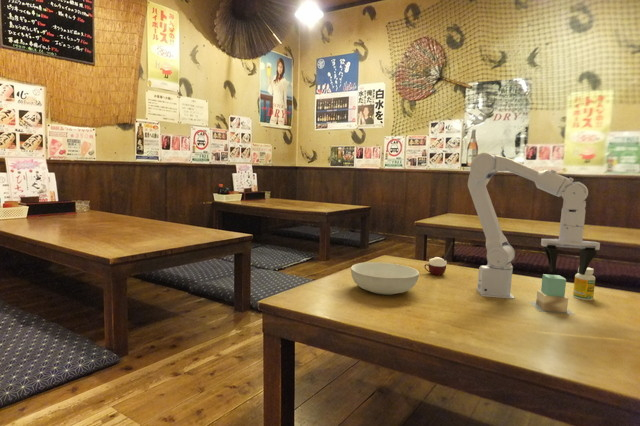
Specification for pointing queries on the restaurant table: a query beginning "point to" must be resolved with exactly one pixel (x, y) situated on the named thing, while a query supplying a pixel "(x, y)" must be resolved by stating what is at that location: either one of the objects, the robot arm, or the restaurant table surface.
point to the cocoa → (438, 264)
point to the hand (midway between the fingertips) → (566, 272)
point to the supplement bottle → (584, 285)
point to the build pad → (549, 311)
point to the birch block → (551, 302)
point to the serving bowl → (384, 277)
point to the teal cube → (553, 285)
